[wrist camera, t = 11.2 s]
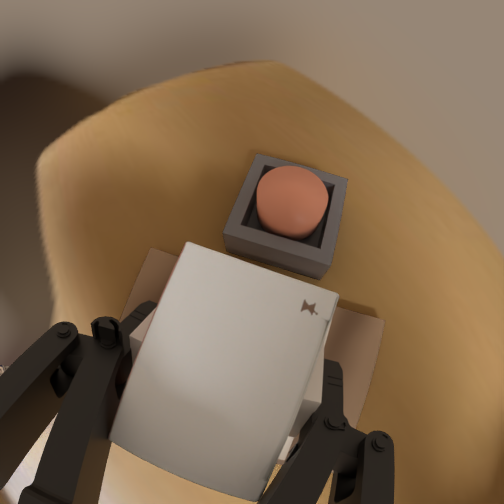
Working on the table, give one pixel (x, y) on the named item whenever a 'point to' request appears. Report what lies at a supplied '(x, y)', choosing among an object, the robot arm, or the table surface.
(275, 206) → the button
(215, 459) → the small box
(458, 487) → the table surface
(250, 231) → the button housing
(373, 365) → the drawing board
